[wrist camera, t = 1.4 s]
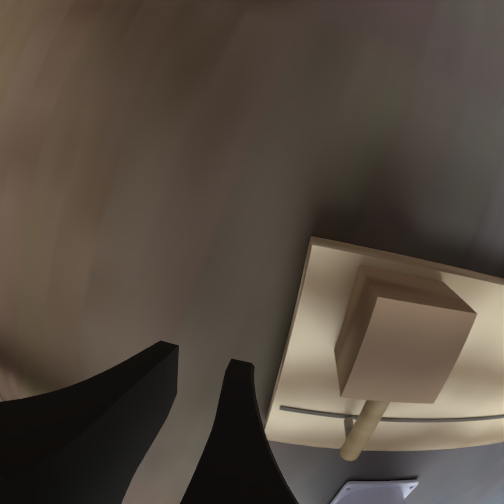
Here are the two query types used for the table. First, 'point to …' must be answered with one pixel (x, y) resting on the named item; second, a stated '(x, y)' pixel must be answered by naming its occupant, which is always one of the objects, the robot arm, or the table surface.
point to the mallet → (396, 345)
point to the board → (397, 414)
